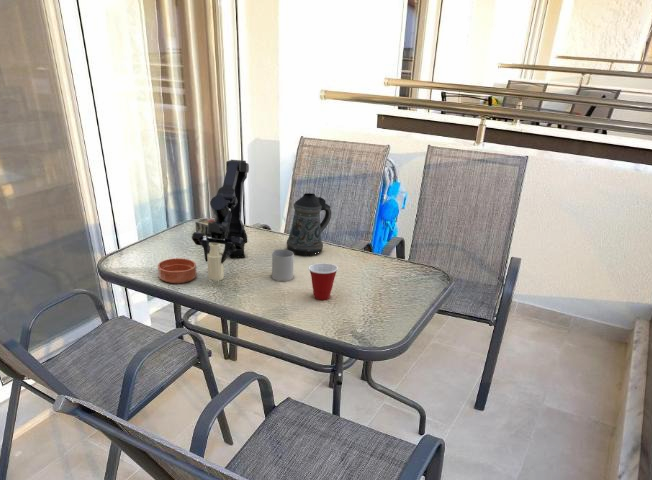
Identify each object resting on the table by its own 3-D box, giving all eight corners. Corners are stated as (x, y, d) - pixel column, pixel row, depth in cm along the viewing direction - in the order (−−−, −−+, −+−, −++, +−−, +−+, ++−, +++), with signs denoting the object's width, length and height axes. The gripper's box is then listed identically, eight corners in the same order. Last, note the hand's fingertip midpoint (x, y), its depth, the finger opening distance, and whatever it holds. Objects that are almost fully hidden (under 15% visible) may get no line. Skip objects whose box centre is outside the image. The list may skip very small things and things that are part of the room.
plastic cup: (321, 288, 195) (323, 259, 189) (341, 298, 189) (344, 267, 183) (300, 295, 189) (302, 265, 182) (321, 305, 182) (323, 274, 176)
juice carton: (193, 232, 242) (192, 219, 239) (208, 228, 249) (207, 215, 246) (223, 243, 233) (222, 229, 229) (238, 238, 240) (238, 225, 236)
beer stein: (279, 250, 228) (280, 194, 215) (304, 240, 242) (306, 186, 229) (308, 259, 221) (312, 201, 208) (333, 248, 235) (337, 193, 222)
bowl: (193, 268, 204) (193, 257, 202) (199, 282, 193) (198, 270, 191) (157, 271, 200) (156, 259, 197) (160, 285, 189) (159, 273, 186)
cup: (296, 275, 205) (297, 252, 199) (287, 282, 198) (287, 258, 193) (278, 271, 207) (278, 248, 202) (268, 278, 201) (268, 254, 196)
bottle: (222, 274, 193) (220, 241, 186) (224, 279, 189) (223, 246, 182) (207, 275, 192) (205, 242, 185) (209, 281, 187) (207, 247, 180)
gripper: (191, 210, 182) (182, 249, 179) (241, 215, 180) (233, 255, 177) (200, 225, 193) (192, 262, 189) (247, 230, 191) (240, 268, 188)
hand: (214, 262), depth 186 cm, fingers closed on bottle, 6 cm apart
